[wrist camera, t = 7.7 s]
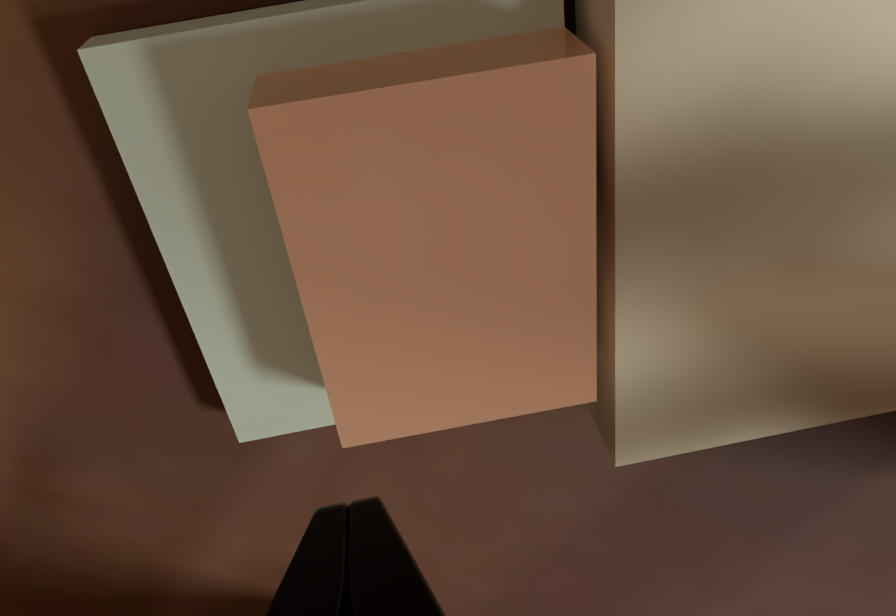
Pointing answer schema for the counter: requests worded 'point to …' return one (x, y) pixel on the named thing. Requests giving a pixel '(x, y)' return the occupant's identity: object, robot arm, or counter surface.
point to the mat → (252, 169)
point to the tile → (441, 228)
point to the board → (742, 218)
